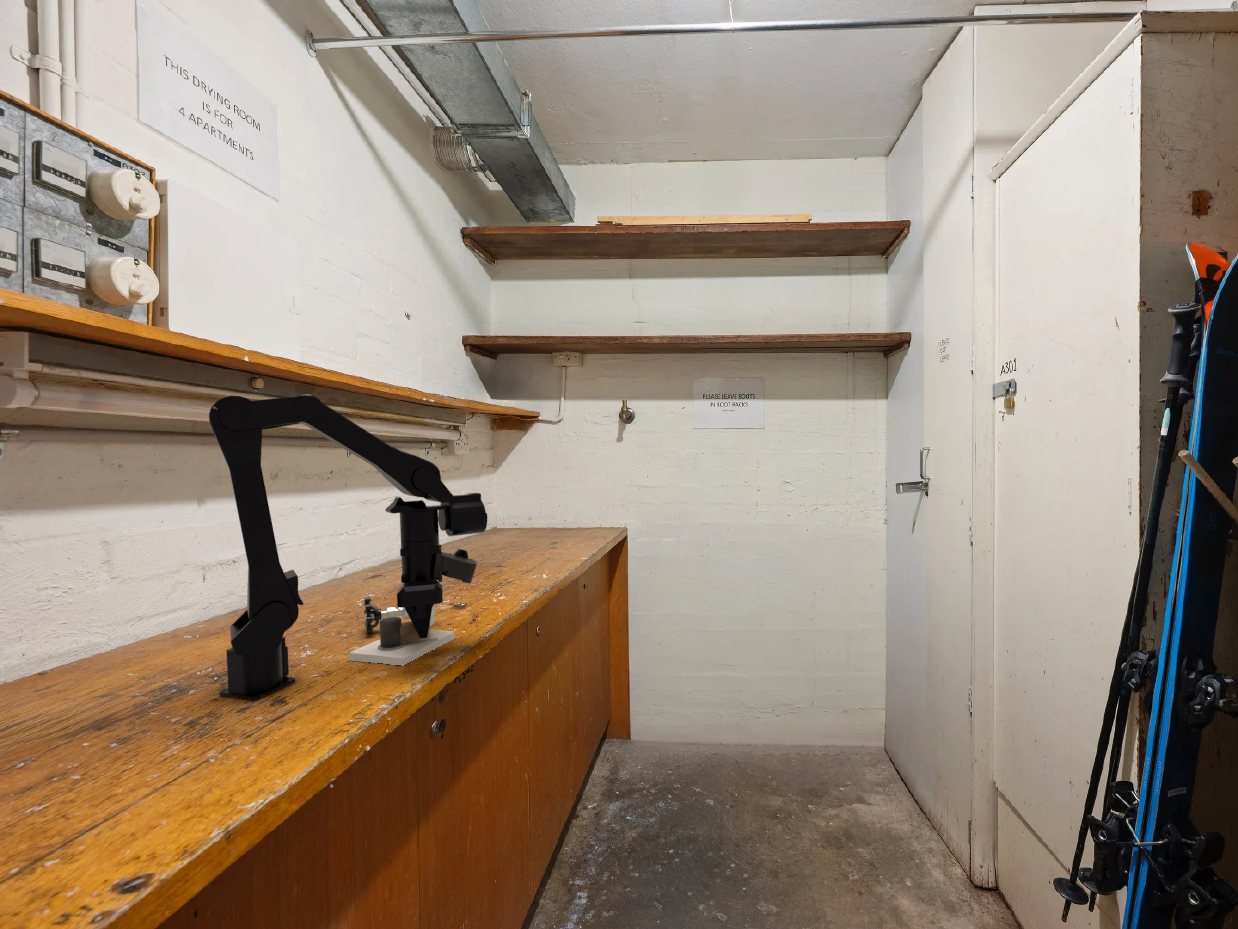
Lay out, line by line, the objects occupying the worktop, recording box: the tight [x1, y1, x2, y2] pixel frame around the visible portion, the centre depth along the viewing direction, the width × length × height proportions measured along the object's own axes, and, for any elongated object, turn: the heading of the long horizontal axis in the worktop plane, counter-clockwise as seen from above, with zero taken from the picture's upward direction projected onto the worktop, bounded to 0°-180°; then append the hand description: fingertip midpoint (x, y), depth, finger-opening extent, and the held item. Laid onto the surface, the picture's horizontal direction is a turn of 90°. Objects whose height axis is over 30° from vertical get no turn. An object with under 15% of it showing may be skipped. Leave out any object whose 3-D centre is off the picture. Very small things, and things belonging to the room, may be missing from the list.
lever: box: [379, 616, 431, 647], centre depth 91 cm, size 7×3×4 cm, turn 120°
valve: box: [363, 596, 436, 635], centre depth 103 cm, size 7×7×12 cm
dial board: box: [348, 629, 456, 667], centre depth 92 cm, size 13×10×1 cm
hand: (423, 637), depth 90 cm, fingers closed
